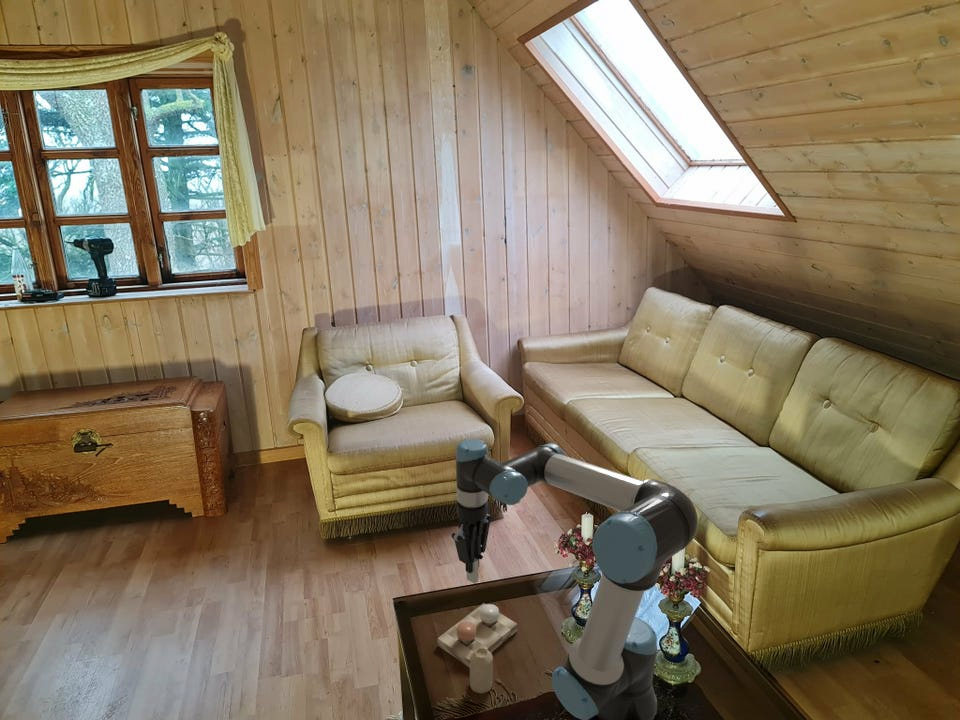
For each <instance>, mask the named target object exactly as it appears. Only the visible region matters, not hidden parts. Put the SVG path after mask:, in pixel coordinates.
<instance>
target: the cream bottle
mask: <svg viewBox="0 0 960 720" xmlns="http://www.w3.org/2000/svg"><path fill="white" fill-rule="evenodd" d="M493 661H494V656H493V654H492V653H490V652H489V651H488V650H486V649H484V648H480V649H477V650H475V651H473V652H472V653H471V655H470V668H469V686H470V688H471V690H472V691H473V692H475V693H478V694H486V693H488V692H489V691H491V689H492V687H493V681H494V680H493V679H494V678H493V676H494V675H493V674H494V669H493V667H494V662H493Z"/></svg>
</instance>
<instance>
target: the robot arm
mask: <svg viewBox="0 0 960 720" xmlns="http://www.w3.org/2000/svg"><path fill="white" fill-rule="evenodd" d="M455 453H456V454H455V455H456V456H455V473H456V475H455V476H456V514H457V516H458V519H459V523H458V530H457V531H456V532H453V533H451V538H452V539H453V540H454V545H455V549H456V553H457V556H458V560H459V561H460V562H461V563H464V564H465V565H464V566H465V570H464V571H465V573H466V580H467V581H469V582H470V583H472V584H474V585H475V584H477V583H478V582H479V567H480V560H483V558H484V556H483V555H482V553H483V554H484V553H485V552H486V549H487V543H488V537H489V532H490V531H489V530H490V526H491V522H492V519H493V516H492V515H490V514H488V511H489V508H488V506H489V501H488V500H489V496H490V497H492V498H493V499H495V500H496V501H499V502H501V503H503V504H504V505H508V506H515V505H517V504H519V503H520V502H521V500H522V499H524V497H526V494H527V491H528V488H530V487H531V486H533V485H536V484H538V483H541V482H542V483H545V484H547V485H550V486H553V487H555V488H558V489H561V490H564V491H566V492H568V493H572V494H574V495H576V496H579V497H581V498H585V499H587V500H590V501H592V502H595V503H598V504H600V505H603V506H605V507H608V508H610V509H611V508H612V509H613V510H616V511H618V512H615V513H614V514H612V515H611V516H609V517H608V518H606V520H604V521H603V522H602V523H601V524H600V525H598V527H597V528H596V530H595V532H594V534H593V539H592V552H593V554H595V555H596V556H595V557H594V560H595V563H596V564H597V566H598V568H599V571H600V572H601V575H600V579H599V581H598V582H599V583H598V586H597V589H596V591H595V594H594V598H593V601H592V604H591V607H590V610H589V613H588V616H587V619H586V622H585V625H584V629H583V631H582V635H581V637H579V638H577V639H576V640H575V641H574V642H573V643H572V644H571V646H570V648H569V651H568V655H567V657H566V660H565V661H564V663H562V664H561V665H560V666H557V667H556V669H555V670H553V672H552V674H551V686H552V688H553V691H554V693H555V695H556V697H557V699H558V700H559V702H560V703H561V705H562V706H563V708H564V709H565V710H566V711H568V713H570V714H571V715H572V716H573V717H575V718H577V719H579V720H590V719H591V718H593V717H595V716H596V717H597V716H598V717H599V718H600V719H602V720H653V719H654V717H655V715H656V716H657V711H658V710H657V709H658V700H657V699H658V698H657V696H656V694H655V689H654V686H653V678H654V671H655V664H656V655H657V651H658V645H657V644H658V640H657V639H658V637H657V633H656V631H655V630H654V628H653V627H652V626H651V625H650V624H649V623H648V622H646V621H645V620H643V619H641V618H639V617H636V615H637V612H638V610H639V607H640V605H641V602H642V598H643V596H644V594H645V592H647V591H649V590H652V589H653V588H654V587H655V586H656V585H657V582H658V580H659V578H660V575H661V572H662V569H663V568H664V565H665V563H666V562H667V561H668V560H669V559H671V558H672V557H674V556H675V555H676V554H678V553H680V552H681V551H683V550H684V549H686V548H687V547H689V545H690V544H691V543H692V542H693V540H694V538H695V536H696V534H697V532H698V524H699V517H698V514H697V510H696V507H695V506H694V503H693V502H692V501H691V498H689V497H688V496H687V494H685V493H684V492H683V491H682V490H680V489H679V488H677V487H676V486H673V485H671V484H669V483H666V482H663V481H661V480H658V479H654V478H647V479H646V480H642V479H638V478H635V477H633V476H629V475H626V474H623V473H619V472H617V471H614V470H611V469H607V468H604V467H601V466H597V465H595V464H591V463H589V462H585V461H583V460H579V459H576V458H573V457H569V456H568V455H567V456H566V455H565V452H564V450H563V449H562V448H560V447H559V445H557V444H555V443H552V442H551V443H545V444H544V445H543V444H541V445H538V446H536V447H535V448H533V449H531V450H529V451H527V452H524V453H522V454H519V455H517V456H515V457H511V459H508V460H505V461H503V462H500V461H498V460H496V459H495V458H492V457H491V456H489V447H488V445H487V443H486V442H485V441H484V440H482V439H479V438H467V439H464V440H461V441H460V442H459V443H458V444H457V446H456V451H455ZM598 717H597V718H598ZM599 718H598V719H599ZM655 718H656V717H655ZM600 719H599V720H600ZM654 720H655V719H654Z"/></svg>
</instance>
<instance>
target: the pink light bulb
mask: <svg viewBox="0 0 960 720" xmlns="http://www.w3.org/2000/svg"><path fill="white" fill-rule="evenodd" d="M475 637H476V626H475V625H474V624H473V623H471V622H462V623H460V624H458V626H457V638H458V639H459V640H461V641H462V644H463V645H464V646H466V647H467V646H469V645H470V644H471V641H472V640H473V639H474V638H475Z"/></svg>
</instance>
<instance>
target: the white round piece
mask: <svg viewBox="0 0 960 720" xmlns="http://www.w3.org/2000/svg"><path fill="white" fill-rule="evenodd" d="M485 604H486V603H485ZM499 613H500V610H499V607H498V606H496V605H495V604H490V603H487V604H486V605H484V606H482V607H481V609H480V619H481V620H482V621H483V622H485V626H487V627H489V628H491V627H492V626H494V622H496V621H497V620H498V618H499Z"/></svg>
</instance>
